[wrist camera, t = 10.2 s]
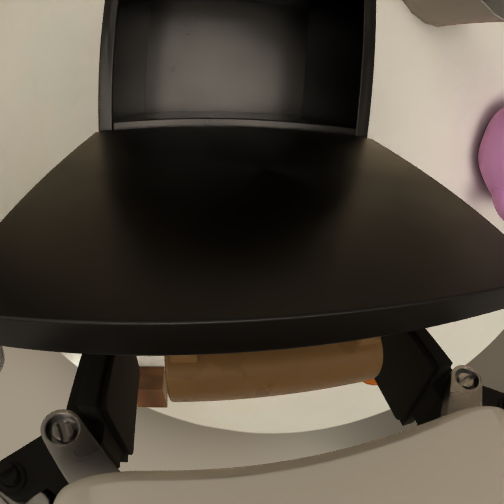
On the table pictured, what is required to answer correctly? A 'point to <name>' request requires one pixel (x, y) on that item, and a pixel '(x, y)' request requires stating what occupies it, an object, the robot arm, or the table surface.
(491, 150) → the teapot
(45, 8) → the table surface
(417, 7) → the faceted grey tumbler
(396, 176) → the box lid
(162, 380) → the block
